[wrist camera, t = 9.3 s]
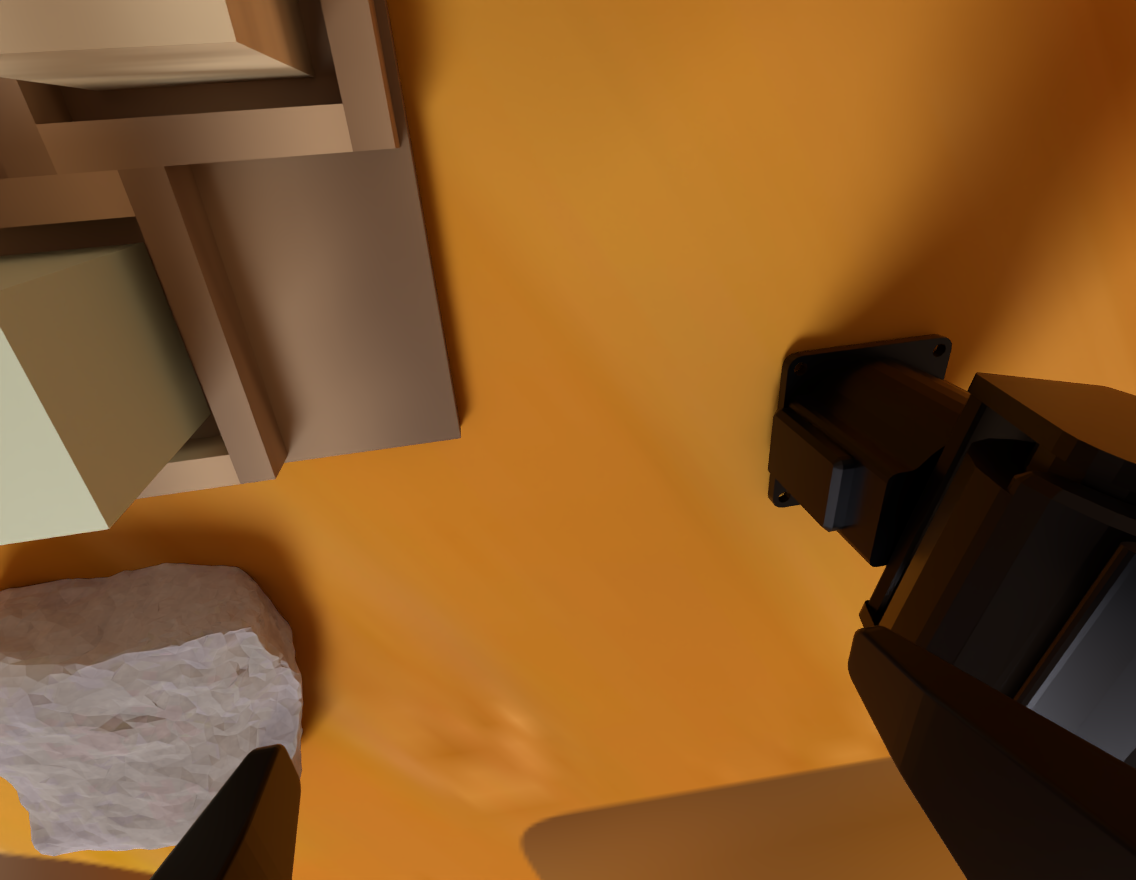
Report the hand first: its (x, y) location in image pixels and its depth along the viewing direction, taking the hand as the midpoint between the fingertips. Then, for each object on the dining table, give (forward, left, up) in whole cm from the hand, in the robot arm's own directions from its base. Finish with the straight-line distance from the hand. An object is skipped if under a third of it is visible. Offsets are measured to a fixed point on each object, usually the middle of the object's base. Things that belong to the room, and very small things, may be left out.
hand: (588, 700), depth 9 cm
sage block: (+12, -3, -12) cm, 17 cm away
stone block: (+14, +11, -13) cm, 22 cm away
